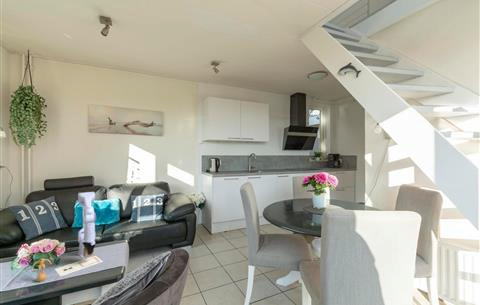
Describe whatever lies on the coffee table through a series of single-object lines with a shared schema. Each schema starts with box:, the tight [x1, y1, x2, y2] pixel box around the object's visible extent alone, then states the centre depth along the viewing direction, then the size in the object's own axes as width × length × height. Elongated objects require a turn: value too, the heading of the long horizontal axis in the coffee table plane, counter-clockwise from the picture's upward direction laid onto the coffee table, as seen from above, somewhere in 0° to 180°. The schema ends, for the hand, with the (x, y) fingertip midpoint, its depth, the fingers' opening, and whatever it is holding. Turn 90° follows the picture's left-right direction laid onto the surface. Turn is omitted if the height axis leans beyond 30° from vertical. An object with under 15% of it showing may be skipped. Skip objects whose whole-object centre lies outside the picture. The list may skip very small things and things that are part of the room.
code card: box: [54, 255, 104, 277], centre depth 134 cm, size 13×22×1 cm, turn 142°
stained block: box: [83, 247, 95, 259], centre depth 138 cm, size 4×4×5 cm
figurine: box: [31, 257, 52, 282], centre depth 119 cm, size 8×6×12 cm
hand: (89, 253), depth 139 cm, fingers closed on stained block, 4 cm apart
